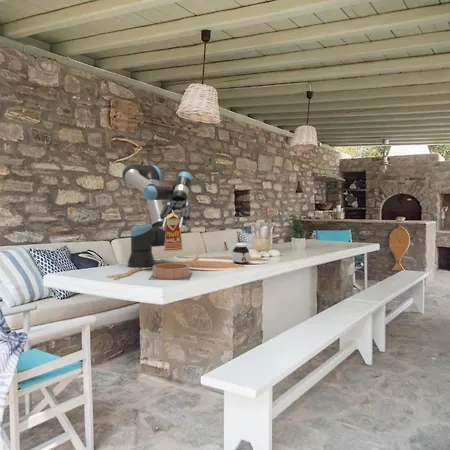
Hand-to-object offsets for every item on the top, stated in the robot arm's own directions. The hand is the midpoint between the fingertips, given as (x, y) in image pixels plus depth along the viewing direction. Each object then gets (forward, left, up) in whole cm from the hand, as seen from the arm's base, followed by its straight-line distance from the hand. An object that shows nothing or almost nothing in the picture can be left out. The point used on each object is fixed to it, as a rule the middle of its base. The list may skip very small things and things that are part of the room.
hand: (172, 228), depth 216 cm
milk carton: (0, +4, -11) cm, 12 cm away
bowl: (-1, +3, -24) cm, 24 cm away
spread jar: (+36, +51, -25) cm, 67 cm away
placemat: (-1, +3, -24) cm, 24 cm away
